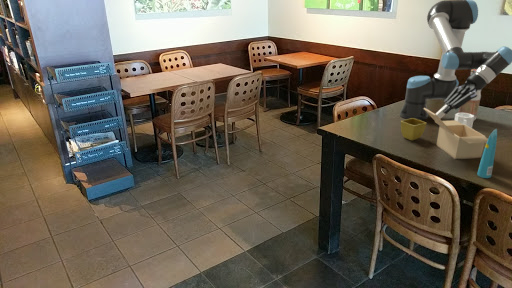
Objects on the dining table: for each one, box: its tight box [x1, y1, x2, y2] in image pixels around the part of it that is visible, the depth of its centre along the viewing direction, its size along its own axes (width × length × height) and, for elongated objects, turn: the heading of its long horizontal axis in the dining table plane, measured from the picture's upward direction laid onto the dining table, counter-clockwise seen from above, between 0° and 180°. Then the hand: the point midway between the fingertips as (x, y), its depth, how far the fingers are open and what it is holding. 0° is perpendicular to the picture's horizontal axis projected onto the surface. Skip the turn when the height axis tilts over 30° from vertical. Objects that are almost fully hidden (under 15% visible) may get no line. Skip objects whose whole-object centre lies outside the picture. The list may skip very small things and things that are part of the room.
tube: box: [476, 128, 498, 179], centre depth 148 cm, size 7×5×19 cm, turn 140°
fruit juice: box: [457, 69, 483, 122], centre depth 211 cm, size 9×9×28 cm
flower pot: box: [400, 118, 427, 141], centre depth 188 cm, size 9×9×9 cm
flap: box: [423, 108, 454, 135], centre depth 167 cm, size 10×1×14 cm
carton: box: [434, 119, 489, 160], centre depth 172 cm, size 28×12×10 cm, turn 4°
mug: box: [454, 112, 475, 129], centre depth 192 cm, size 12×9×10 cm
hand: (436, 117), depth 167 cm, fingers closed
